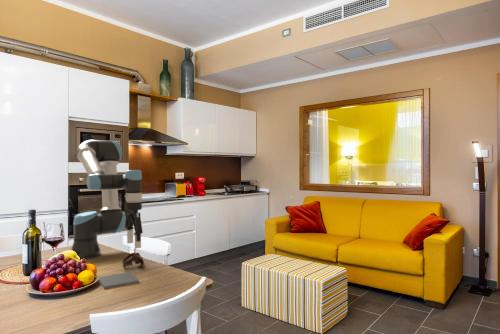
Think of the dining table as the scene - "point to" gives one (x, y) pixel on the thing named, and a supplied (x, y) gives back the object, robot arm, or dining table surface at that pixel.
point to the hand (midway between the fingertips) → (133, 245)
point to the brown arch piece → (135, 258)
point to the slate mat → (118, 280)
